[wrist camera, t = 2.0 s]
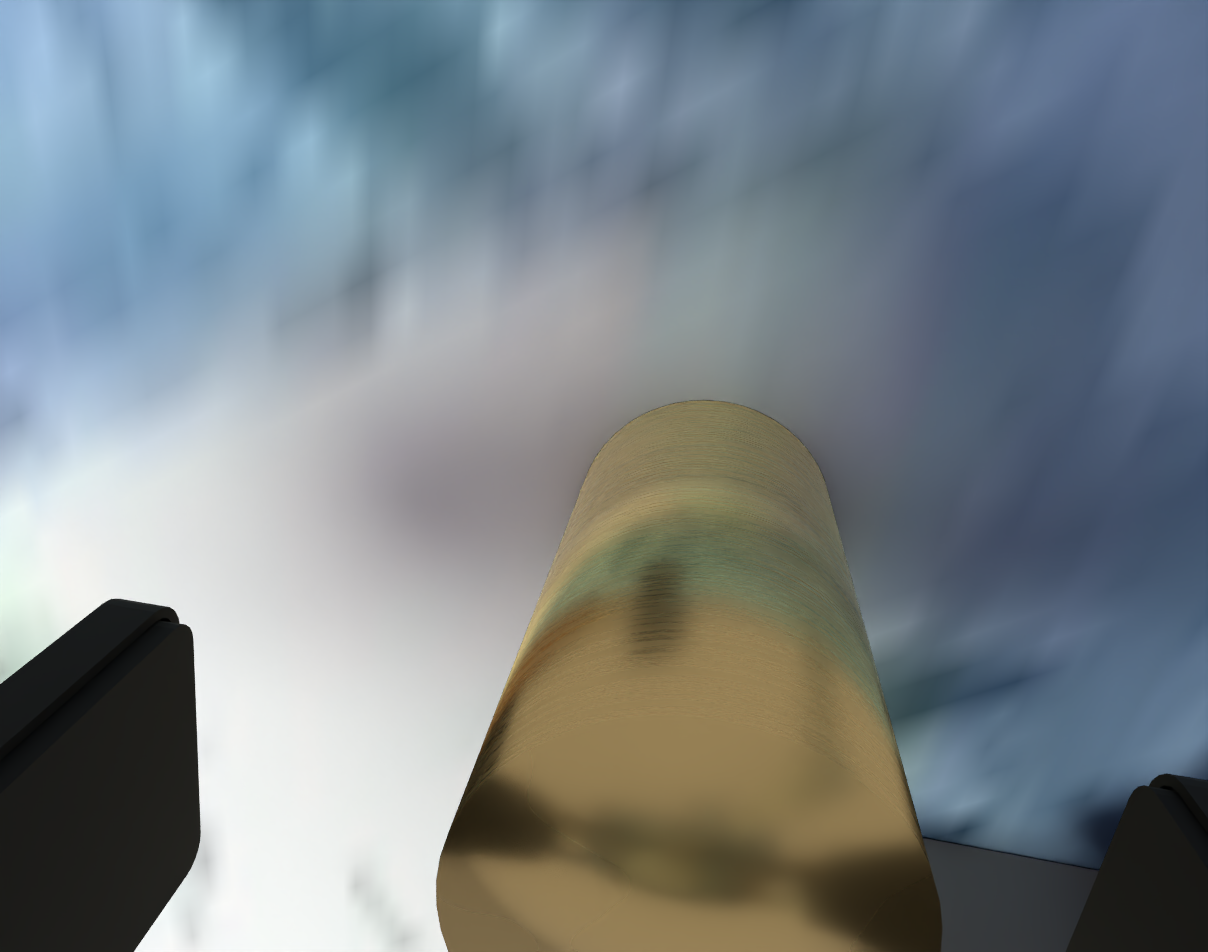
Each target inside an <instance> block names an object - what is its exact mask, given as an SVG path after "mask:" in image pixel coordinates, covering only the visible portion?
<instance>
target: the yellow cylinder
mask: <svg viewBox="0 0 1208 952" xmlns="http://www.w3.org/2000/svg"><path fill="white" fill-rule="evenodd" d="M436 901H437V911H438V916H439V922H440V928H441V931H442V934H443V937H444V940H445V943H446V946H447V949H448V952H941V943H942V930H943V926H942V916H941V906H940V900H939V896H938V892H937V889H936V885H935V881H934V878H933V874H932V870H931V867H930V863H929V860H928V856H927V852H926V849H925V845H924V841H923V838H922V834H921V830H920V827H919V823H918V819H917V816H916V812H915V808H914V805H913V801H912V797H911V794H910V790H909V786H908V783H907V779H906V776H905V772H904V768H903V765H902V761H901V757H900V754H899V750H898V746H897V743H896V739H895V735H894V732H893V728H892V724H891V721H890V717H889V713H888V710H887V706H886V702H885V699H884V695H883V691H882V688H881V684H880V681H879V677H878V673H877V670H876V666H875V662H874V659H873V655H872V651H871V648H870V644H869V640H868V637H867V633H866V629H865V626H864V622H863V618H862V615H861V611H860V607H859V604H858V600H857V597H856V593H855V589H854V586H853V582H852V578H851V575H850V571H849V567H848V564H847V560H846V556H845V553H844V549H843V545H842V542H841V538H840V534H839V531H838V527H837V523H836V520H835V516H834V512H833V509H832V505H831V502H830V498H829V494H828V491H827V487H826V484H825V480H824V478H823V476H822V473H821V471H820V469H819V467H818V465H817V463H816V462H815V460H814V459H813V457H812V455H811V454H810V452H809V451H808V450H807V449H806V447H805V446H804V445H803V444H802V443H801V441H800V440H799V439H798V438H796V437H795V436H794V435H793V434H792V433H791V432H790V431H789V430H788V429H786V428H785V427H784V426H782V425H781V424H779V423H778V422H776V421H775V420H773V419H772V418H770V417H768V416H766V415H764V414H762V413H760V412H758V411H755V410H752V409H750V408H747V407H744V406H741V405H736V404H732V403H727V402H720V401H710V400H702V401H686V402H680V403H674V404H670V405H667V406H663V407H660V408H657V409H654V410H652V411H650V412H648V413H645V414H643V415H641V416H639V417H638V418H636V419H634V420H633V421H631V422H629V423H628V424H627V425H625V426H624V427H623V428H622V429H620V430H619V431H618V432H617V433H615V434H614V435H613V436H612V437H611V439H610V440H609V441H608V442H607V443H606V444H605V445H604V446H603V448H602V449H601V450H600V452H599V453H598V455H597V456H596V457H595V459H594V461H593V463H592V465H591V467H590V469H589V471H588V473H587V476H586V478H585V481H584V483H583V486H582V488H581V491H580V494H579V496H578V499H577V501H576V504H575V507H574V509H573V512H572V514H571V517H570V520H569V522H568V525H567V527H566V530H565V533H564V535H563V538H562V540H561V543H560V545H559V548H558V551H557V553H556V556H555V558H554V561H553V564H552V566H551V569H550V571H549V574H548V577H547V579H546V582H545V584H544V587H543V589H542V592H541V595H540V597H539V600H538V602H537V605H536V608H535V610H534V613H533V615H532V618H531V621H530V623H529V626H528V628H527V631H526V633H525V636H524V639H523V641H522V644H521V646H520V649H519V652H518V654H517V657H516V659H515V662H514V665H513V667H512V670H511V672H510V675H509V677H508V680H507V683H506V685H505V688H504V690H503V693H502V696H501V698H500V701H499V703H498V706H497V709H496V711H495V714H494V716H493V719H492V722H491V724H490V727H489V729H488V732H487V734H486V737H485V740H484V742H483V745H482V747H481V750H480V753H479V755H478V758H477V760H476V763H475V766H474V768H473V771H472V773H471V776H470V778H469V781H468V784H467V786H466V789H465V791H464V794H463V797H462V799H461V802H460V804H459V807H458V810H457V812H456V815H455V817H454V820H453V822H452V825H451V828H450V830H449V833H448V836H447V839H446V841H445V844H444V847H443V850H442V853H441V856H440V861H439V867H438V873H437V880H436Z"/></svg>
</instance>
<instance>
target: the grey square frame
mask: <svg viewBox="0 0 1208 952" xmlns="http://www.w3.org/2000/svg"><path fill="white" fill-rule="evenodd" d="M923 841H924V845H925V849H926V852H927V856H928V860H929V863H930V867H931V870H932V874H933V878H934V881H935V885H936V889H937V892H938V896H939V900H940V906H941V916H942V926H943V930H942V943H941V952H1066V949H1067V947H1068V944H1069V942H1070V940H1071V937H1072V935H1073V932H1074V930H1075V928H1076V925H1077V923H1078V920H1079V918H1080V916H1081V913H1082V911H1083V908H1084V906H1085V904H1086V901H1087V899H1088V896H1089V894H1090V892H1091V889H1092V887H1093V884H1094V882H1095V880H1096V877H1097V875H1098V872H1099V871H1097V870H1092V869H1086V868H1081V867H1075V866H1070V865H1065V864H1059V863H1054V862H1049V861H1043V860H1038V859H1032V858H1027V857H1022V856H1016V855H1011V854H1006V853H1000V852H995V851H989V850H984V849H979V848H973V847H968V846H962V845H957V844H952V843H946V842H941V841H936V840H930V839H925V838H923Z"/></svg>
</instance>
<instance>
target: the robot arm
mask: <svg viewBox="0 0 1208 952" xmlns="http://www.w3.org/2000/svg"><path fill="white" fill-rule="evenodd" d="M200 833H201V831H200V804H199V778H198V751H197V725H196V698H195V672H194V646H193V635H192V631H191V629H190V627H188V626H187V625H184V624H179V618H178V616H177V614H176V612H175V611H174V610H173V609H171V608H170V607H165V606H159V605H153V604H147V603H141V602H135V601H129V600H123V599H110V600H109V601H107V602H105V603H103V604H102V605H101V606H99V607H98V608H97V609H95V610H94V611H93V612H92V613H90V614H89V615H88V616H87V617H85V618H84V619H83V620H81V621H80V622H79V623H78V624H76V625H75V626H74V627H73V628H71V629H70V630H69V631H67V632H66V633H65V634H64V635H62V636H61V637H60V638H59V639H57V640H56V641H55V642H53V643H52V644H51V645H50V646H48V647H47V648H46V649H44V650H43V651H42V652H41V653H39V654H38V655H37V656H36V657H34V658H33V659H32V660H30V661H29V662H28V663H27V664H25V665H24V666H23V667H22V668H20V669H19V670H18V671H16V672H15V673H14V674H13V675H11V676H10V677H9V678H8V679H6V680H5V681H4V682H2V683H1V684H0V952H134V951H135V949H136V948H137V946H138V945H139V943H140V942H141V940H142V939H143V938H144V936H145V935H146V933H147V932H148V930H149V929H150V927H151V926H152V925H153V923H154V922H155V920H156V919H157V917H158V916H159V915H160V913H161V912H162V910H163V909H164V907H165V906H166V904H167V903H168V902H169V900H170V899H171V897H172V896H173V894H174V893H175V891H176V890H177V889H178V887H179V886H180V884H181V883H182V881H183V880H184V878H185V877H186V876H187V874H188V872H189V871H190V869H191V867H192V865H193V863H194V860H195V858H196V855H197V851H198V848H199V843H200ZM1066 952H1208V780H1202V779H1196V778H1190V777H1184V776H1178V775H1172V774H1163V775H1159V776H1157V777H1156V778H1155V779H1154V780H1152V782H1151V783H1150V785H1149V786H1139V787H1138V788H1136V789H1135V790H1134V791H1133V793H1132V794H1131V796H1130V798H1129V800H1128V803H1127V805H1126V807H1125V810H1124V812H1123V815H1122V817H1121V819H1120V822H1119V824H1118V827H1117V829H1116V831H1115V834H1114V836H1113V839H1112V841H1111V843H1110V846H1109V848H1108V851H1107V853H1106V856H1105V858H1104V860H1103V863H1102V865H1101V868H1100V870H1099V872H1098V875H1097V877H1096V880H1095V882H1094V884H1093V887H1092V889H1091V892H1090V894H1089V896H1088V899H1087V901H1086V904H1085V906H1084V908H1083V911H1082V913H1081V916H1080V918H1079V920H1078V923H1077V925H1076V928H1075V930H1074V932H1073V935H1072V937H1071V940H1070V942H1069V944H1068V947H1067V949H1066Z"/></svg>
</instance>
